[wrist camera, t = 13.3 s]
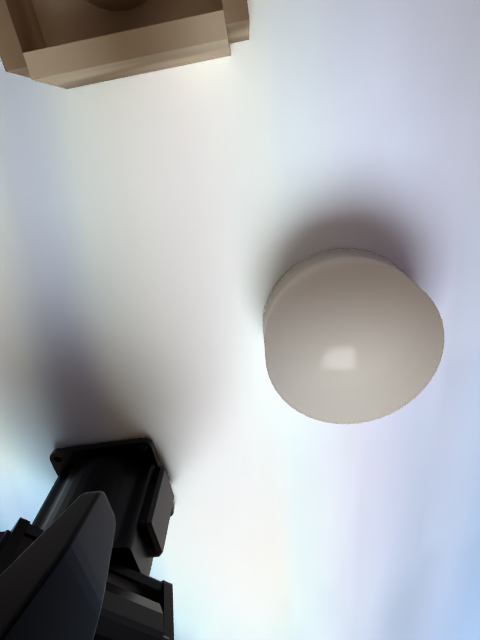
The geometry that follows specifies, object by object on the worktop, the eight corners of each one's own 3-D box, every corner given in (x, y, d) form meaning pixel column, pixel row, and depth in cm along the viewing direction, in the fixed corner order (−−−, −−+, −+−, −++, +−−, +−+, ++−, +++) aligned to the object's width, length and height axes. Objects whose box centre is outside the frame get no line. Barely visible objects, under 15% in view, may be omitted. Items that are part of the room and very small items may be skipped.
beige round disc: (273, 392, 23) (277, 432, 20) (251, 261, 20) (252, 284, 17) (413, 374, 23) (440, 413, 19) (415, 235, 19) (448, 254, 16)
